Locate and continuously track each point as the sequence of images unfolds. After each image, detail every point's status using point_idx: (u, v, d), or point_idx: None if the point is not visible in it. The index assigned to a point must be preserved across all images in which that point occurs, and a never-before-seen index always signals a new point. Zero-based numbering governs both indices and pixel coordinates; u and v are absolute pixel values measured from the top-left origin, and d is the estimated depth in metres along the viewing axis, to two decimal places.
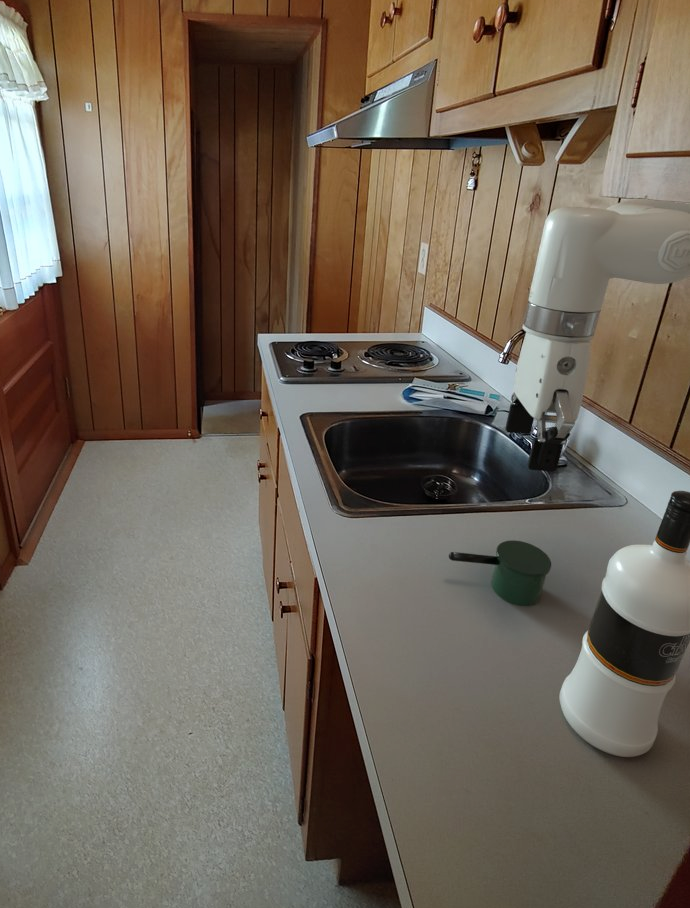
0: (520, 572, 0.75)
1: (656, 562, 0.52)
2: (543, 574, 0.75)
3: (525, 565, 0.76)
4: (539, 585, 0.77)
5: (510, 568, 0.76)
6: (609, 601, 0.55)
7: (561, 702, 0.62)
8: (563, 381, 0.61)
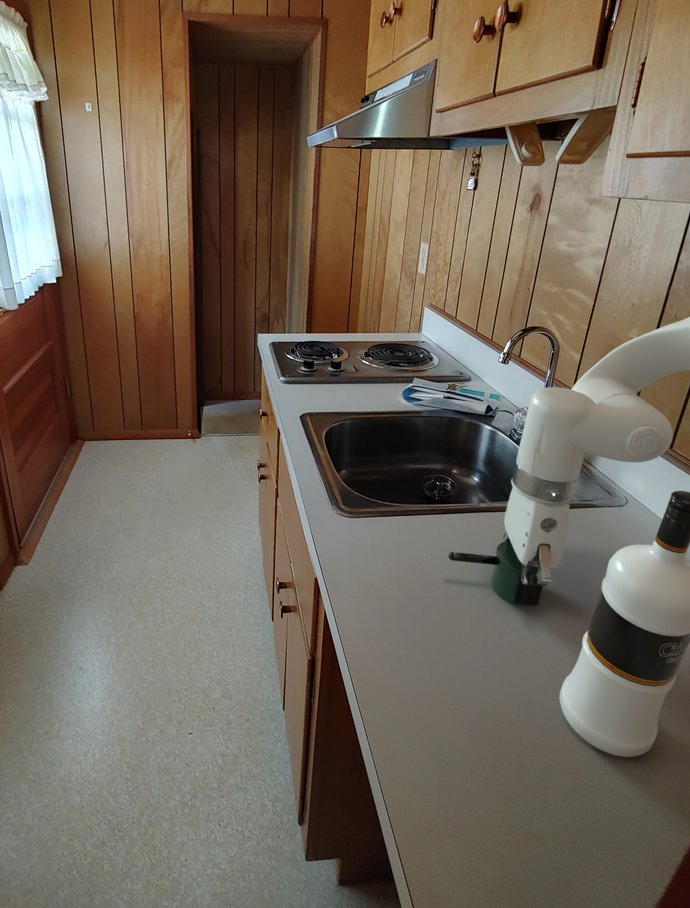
0: (520, 572, 0.75)
1: (656, 562, 0.52)
2: None
3: None
4: None
5: (510, 568, 0.76)
6: (609, 601, 0.55)
7: (561, 702, 0.62)
8: (546, 537, 0.71)
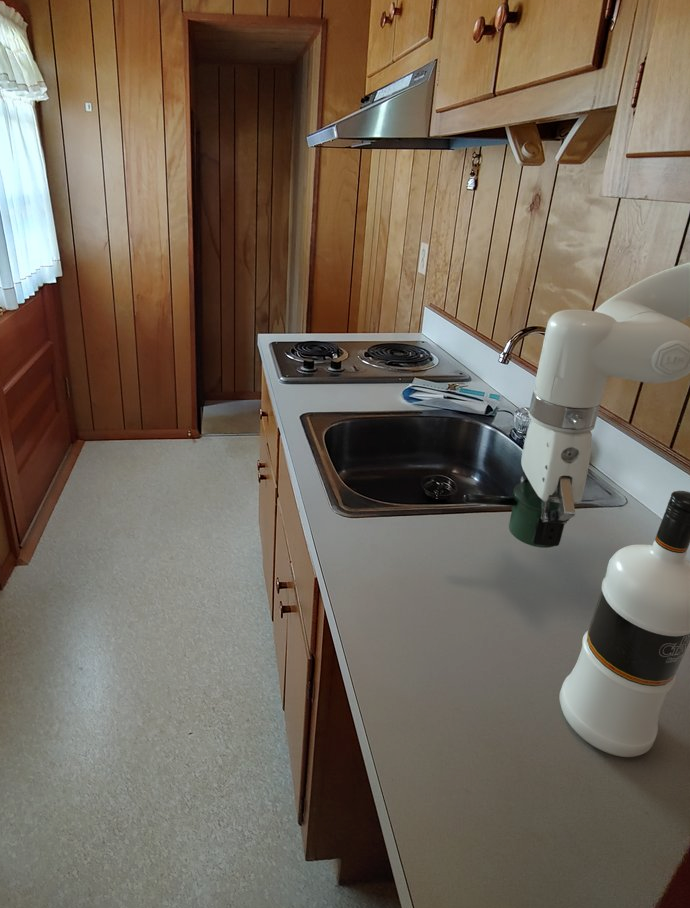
0: (540, 511, 0.71)
1: (656, 562, 0.52)
2: None
3: None
4: None
5: (529, 507, 0.72)
6: (609, 601, 0.55)
7: (561, 702, 0.62)
8: (567, 469, 0.67)
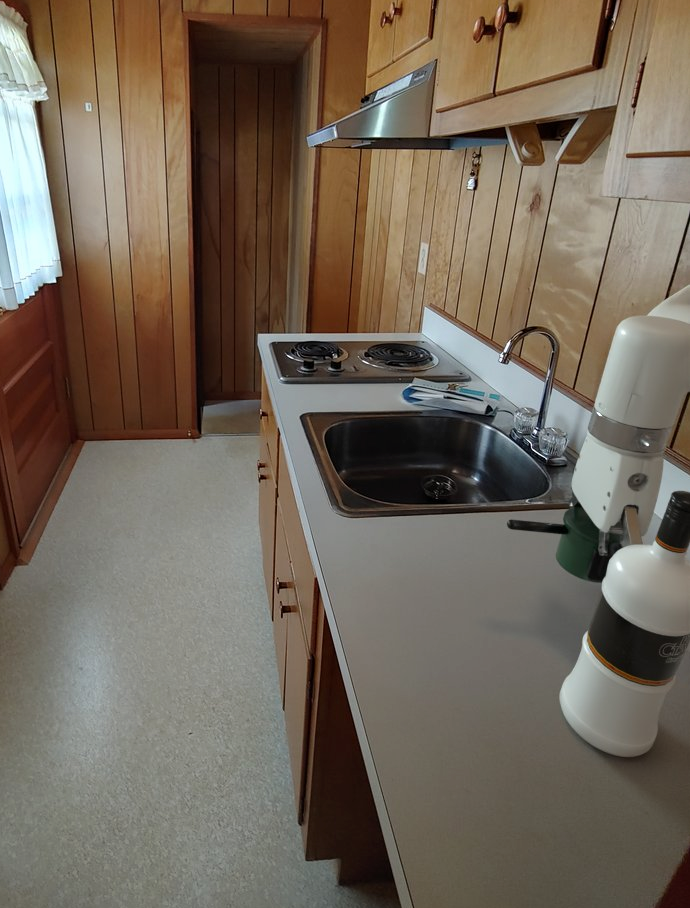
0: (597, 542, 0.63)
1: (656, 562, 0.52)
2: None
3: None
4: None
5: (584, 537, 0.64)
6: (609, 601, 0.55)
7: (561, 702, 0.62)
8: (634, 497, 0.59)
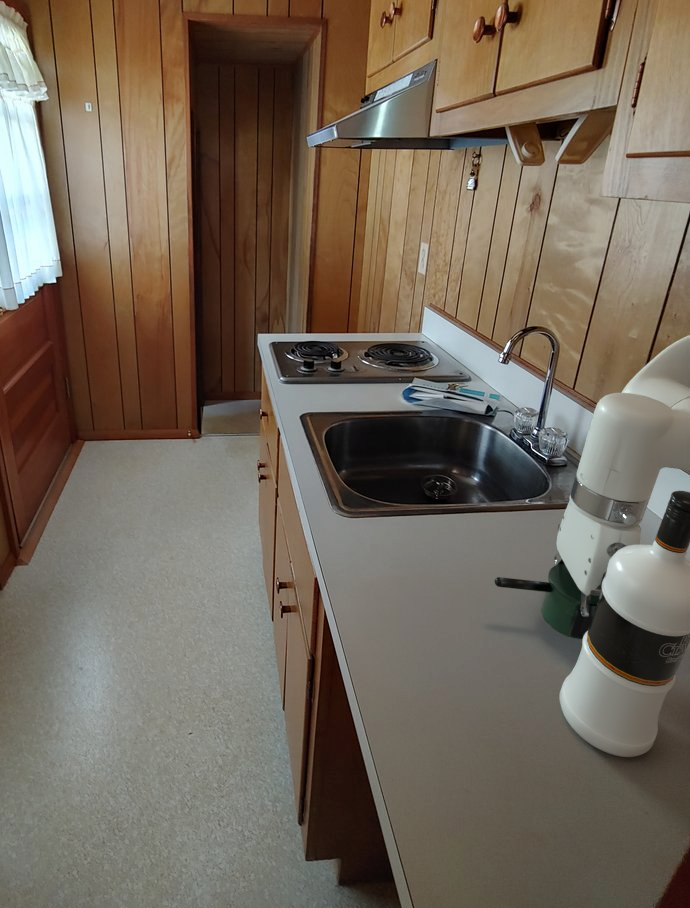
0: (579, 602, 0.66)
1: (656, 562, 0.52)
2: None
3: None
4: None
5: (567, 597, 0.67)
6: (609, 601, 0.55)
7: (561, 702, 0.62)
8: None
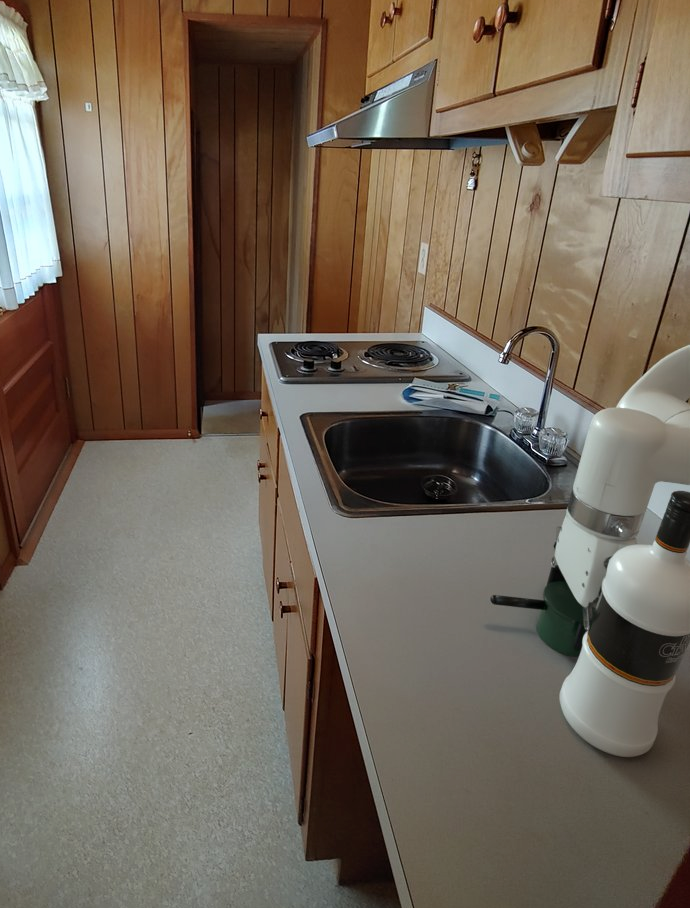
0: (573, 621, 0.68)
1: (656, 562, 0.52)
2: None
3: (578, 612, 0.69)
4: None
5: (561, 615, 0.68)
6: (609, 601, 0.55)
7: (561, 702, 0.62)
8: None
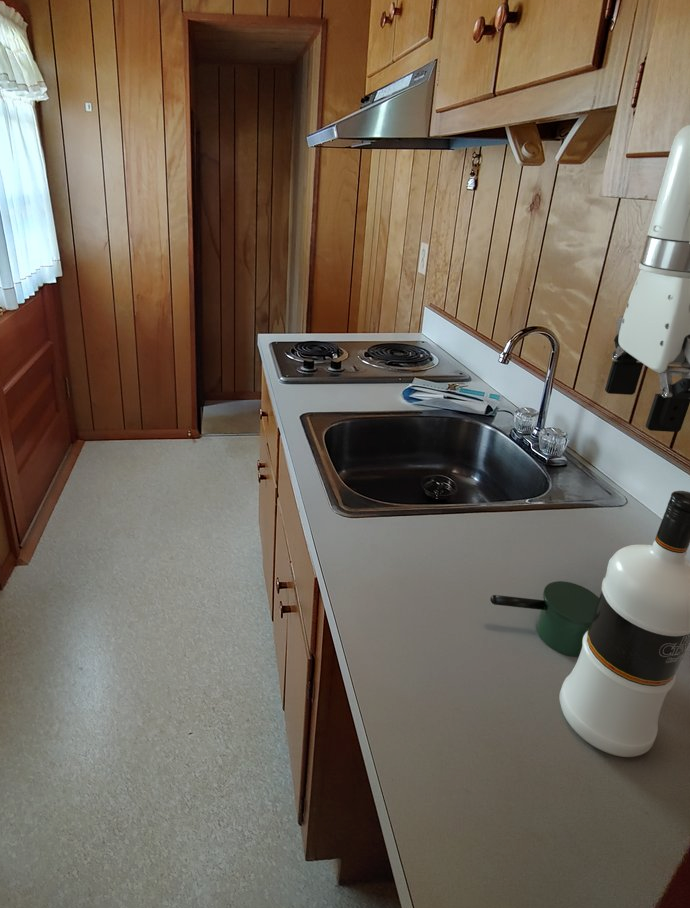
0: (573, 621, 0.68)
1: (656, 562, 0.52)
2: None
3: (578, 612, 0.69)
4: None
5: (561, 615, 0.68)
6: (609, 601, 0.55)
7: (561, 702, 0.62)
8: None
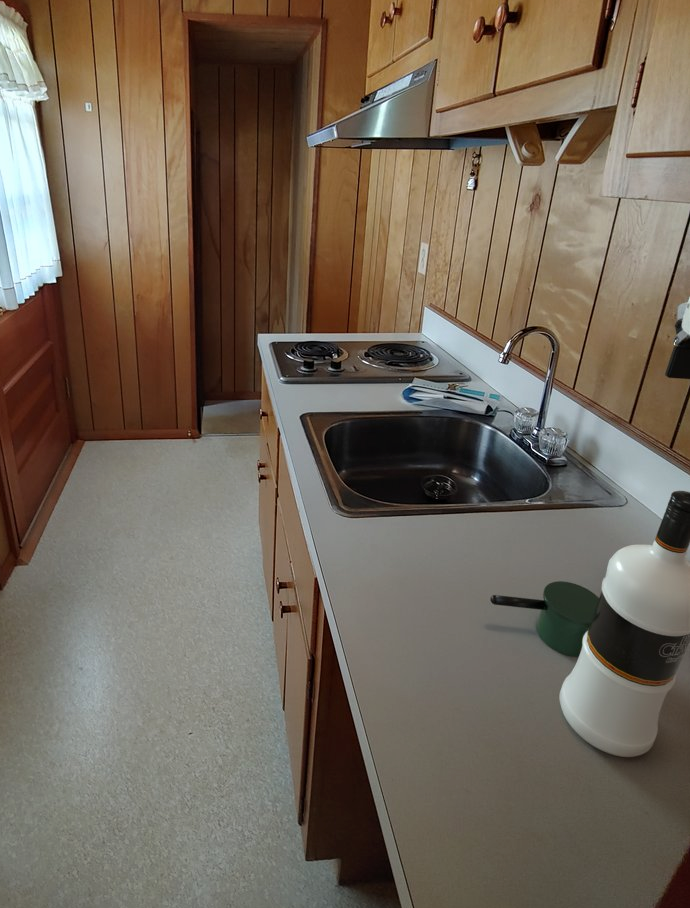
0: (573, 621, 0.68)
1: (656, 562, 0.52)
2: None
3: (578, 612, 0.69)
4: None
5: (561, 615, 0.68)
6: (609, 601, 0.55)
7: (561, 702, 0.62)
8: None
